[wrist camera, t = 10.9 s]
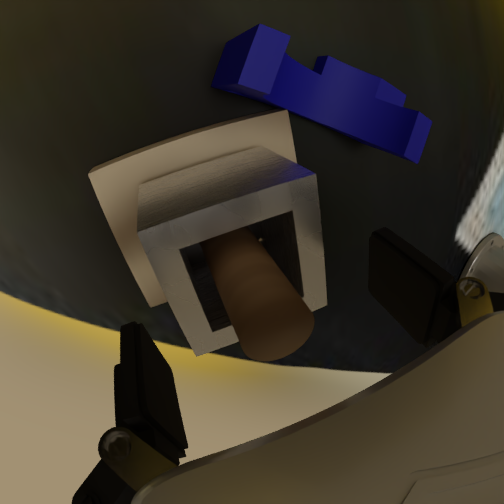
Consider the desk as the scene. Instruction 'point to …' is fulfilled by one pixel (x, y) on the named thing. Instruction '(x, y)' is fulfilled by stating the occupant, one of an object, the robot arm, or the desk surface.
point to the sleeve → (225, 220)
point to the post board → (171, 161)
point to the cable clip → (322, 92)
